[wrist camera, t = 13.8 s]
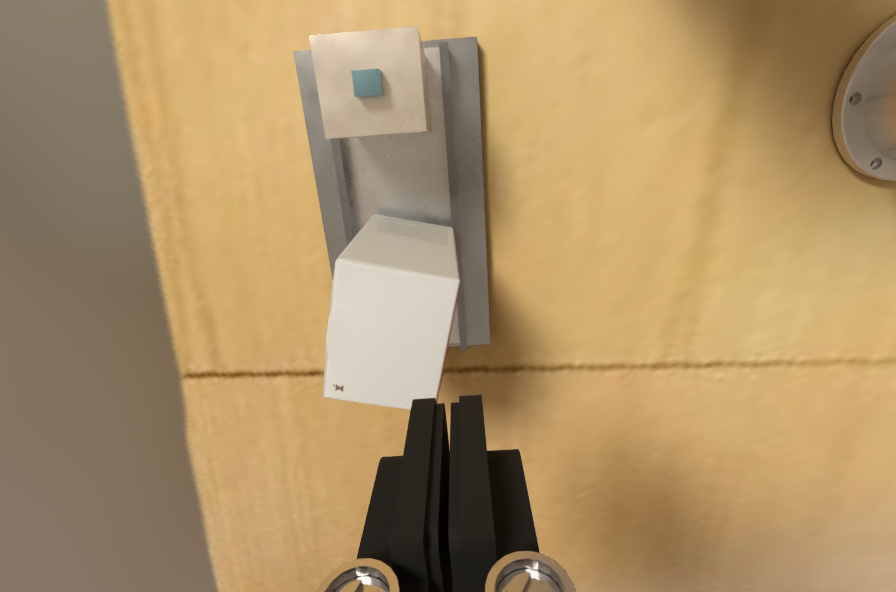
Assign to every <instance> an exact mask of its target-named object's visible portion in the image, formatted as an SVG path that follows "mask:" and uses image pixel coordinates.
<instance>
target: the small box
mask: <svg viewBox="0 0 896 592" xmlns="http://www.w3.org/2000/svg"><path fill="white" fill-rule="evenodd" d="M460 282H461V281H460V276H459V269H458V262H457V254H456V246H455V239H454V230H453V228H452V227H446V226H440V225H435V224H429V223H423V222H418V221H412V220H406V219H401V218H395V217H389V216H384V215H378V214H374V215H373V216H372V217H371V218H370V220H369V221H368V222H367V223H366V224H365V225H364V227H363V228H362V229H361V230H360V231H359V233H358V234H357V235H356V236H355V237H354V239H353V240H352V241H351V242H350V243H349V245H348V246H347V247H346V248H345V249H344V251H343V252H342V253H341V254H340V255H339V257H338V258H337V259H336V261H335V268H334V276H333V285H332V294H331V304H330V313H329V321H328V328H327V337H326V361H325V374H324V387H323V397H324V398H332V399H339V400H345V401H352V402H359V403H366V404H373V405H380V406H388V407H396V408H403V409H410V410H411V406H412V401H413V399H425V398H435V399H436V404H437V401H438V396H439V391H440V386H441V381H442V376H443V371H444V366H445V360H446V355H447V350H448V345H449V340H450V335H451V330H452V324H453V319H454V313H455V309H456V304H457V299H458V293H459V288H460Z"/></svg>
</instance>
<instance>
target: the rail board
mask: <svg viewBox="0 0 896 592" xmlns="http://www.w3.org/2000/svg"><path fill="white" fill-rule="evenodd" d="M309 39H310V45H311V50H309V51H297V52H294V58H295V64H296V70H297V75H298V81H299V87H300V93H301V99H302V104H303V110H304V116H305V122H306V128H307V133H308V139H309V145H310V151H311V156H312V162H313V168H314V174H315V180H316V185H317V191H318V197H319V203H320V209H321V214H322V220H323V226H324V232H325V238H326V243H327V249H328V255H329V261H330V266H331V272H332V278H333V276H334V268H335V261H336V259H337V258H338V257H339V255H340V254H341V253H342V252H343V251H344V249H345V248H346V247H347V246H348V245H349V243H350V242H351V241H352V240H353V239H354V237H355V236H356V235H357V234H358V233H359V231H360V230H361V229H362V228H363V227H364V225H365V224H366V223H367V222H368V221H369V220H370V218H371V217H372V216H373V215H374V214H378V215H384V216H389V217H395V218H401V219H406V220H412V221H418V222H423V223H429V224H435V225H440V226H446V227H452V228H453V230H454V239H455V246H456V254H457V262H458V269H459V276H460V281H461V282H460V288H459V293H458V299H457V304H456V309H455V313H454V319H453V324H452V330H451V335H450V340H449V345H448V347H457V346H460V350H461V351H462V350H468V349H467V346H472V345H486V344H490V321H489V298H488V275H487V252H486V229H485V206H484V183H483V160H482V137H481V114H480V91H479V68H478V45H477V37H466V38H454V39H442V40H430V41H421V37H420V33H419V29H418V26H417V27H405V28H393V29H381V30H369V31H356V32H344V33H332V34H320V35H309Z"/></svg>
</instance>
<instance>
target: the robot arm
mask: <svg viewBox="0 0 896 592" xmlns="http://www.w3.org/2000/svg"><path fill="white" fill-rule="evenodd" d="M832 126H833V135H834V139H835V142H836V145H837V148H838V151H839V152H840V154H841V155H842V157H843V158H844V160H845V161H846V162H847V163H848V164H849V165H850V166H851V167H852V168H853V169H854V170H855V171H857V172H859V173H861V174H863V175H865V176H867V177H871V178H875V179H879V180H887V181H896V15H895V16H893V17H892V18H890V19H889V20H887V21H886V22H885V23H883V24H882V25H881V26H880V27H879V28H878V29H877V30H876V31H875V32H874V33H873V34H872V35H870V36H869V37H868V39H867V40H866V41H865V42H864V44H863V45H862V46H861V47H860V48H859V50H858V51H857V52H856V54H855V55H854V57H853V58H852V60H851V62H850V63H849V65H848V67H847V68H846V70H845V72H844V74H843V77H842V79H841V81H840V84H839V86H838V89H837V93H836V97H835V100H834V104H833V115H832ZM316 592H576V589H575V587H574V584H573V582H572V580H571V579H570V577H569V575H568V574H567V572H566V570H565V569H564V568H563V567H561V566H560V565H559V564H558V563H557V562H556V561H555V560H553V559H551V558H550V557H548V556H546V555H544V554H541V553H540V552H539V547H538V542H537V537H536V532H535V527H534V522H533V517H532V512H531V507H530V502H529V496H528V491H527V486H526V481H525V476H524V471H523V466H522V461H521V456H520V452H519V449H514V450H496V451H487V448H486V437H485V426H484V416H483V405H482V395H472V396H460V397H459V402H457V403H451V425H450V450H449V441H448V431H447V422H446V412H445V405H444V403H441V404H436V399H435V398H425V399H413V401H412V406H411V412H410V418H409V424H408V430H407V436H406V442H405V448H404V454H403V456H392V457H382V458H381V459H380V462H379V466H378V470H377V474H376V478H375V483H374V487H373V491H372V496H371V500H370V504H369V508H368V513H367V517H366V521H365V525H364V530H363V534H362V538H361V542H360V547H359V551H358V555H357V559H356V560H353V561H350V562H347V563H344V564H343V565H341V566H339V567H338V568H336V569H335V570H333V571H332V572H331V573H330V574H329V575H328V576H327V577H326V578H325V579H324V580H323V581H322V583H321V584H320V586H319V588H318V589H317V591H316Z"/></svg>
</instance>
